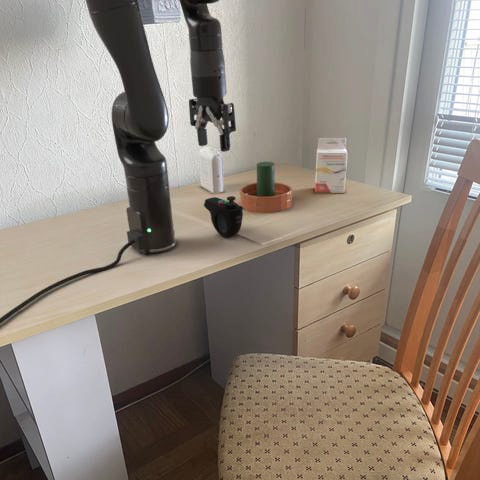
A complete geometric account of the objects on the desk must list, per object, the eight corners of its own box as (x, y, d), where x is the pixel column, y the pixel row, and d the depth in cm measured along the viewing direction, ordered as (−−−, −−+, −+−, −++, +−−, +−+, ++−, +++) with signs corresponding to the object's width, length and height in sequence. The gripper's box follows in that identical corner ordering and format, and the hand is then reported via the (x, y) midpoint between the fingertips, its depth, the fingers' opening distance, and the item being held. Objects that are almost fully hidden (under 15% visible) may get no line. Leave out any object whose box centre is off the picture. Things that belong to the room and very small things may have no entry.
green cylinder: (265, 208, 140) (265, 167, 135) (253, 204, 143) (252, 164, 138) (278, 203, 143) (278, 163, 137) (266, 200, 146) (266, 160, 140)
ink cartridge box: (315, 193, 151) (317, 141, 143) (314, 188, 155) (316, 137, 148) (344, 193, 150) (348, 141, 142) (343, 188, 154) (347, 137, 147)
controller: (232, 244, 120) (230, 202, 115) (203, 229, 129) (200, 190, 123) (247, 239, 122) (245, 198, 117) (217, 225, 131) (215, 186, 126)
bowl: (264, 217, 135) (264, 200, 132) (229, 205, 144) (229, 189, 142) (302, 205, 142) (302, 188, 140) (267, 194, 152) (267, 179, 150)
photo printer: (226, 192, 155) (224, 149, 149) (213, 194, 153) (210, 152, 147) (211, 184, 163) (209, 143, 156) (199, 186, 161) (196, 145, 155)
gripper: (175, 73, 116) (183, 146, 125) (214, 76, 107) (220, 156, 115) (202, 69, 120) (208, 140, 129) (242, 72, 111) (245, 149, 119)
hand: (214, 148), depth 122 cm, fingers open, 8 cm apart
